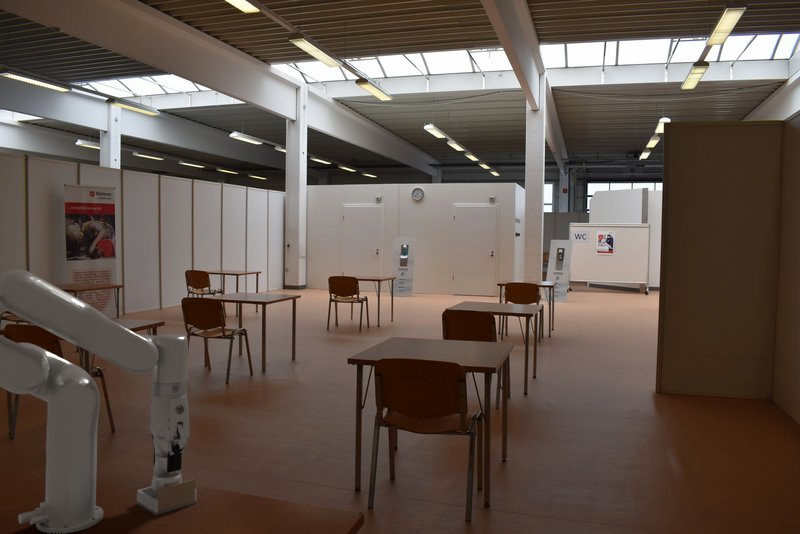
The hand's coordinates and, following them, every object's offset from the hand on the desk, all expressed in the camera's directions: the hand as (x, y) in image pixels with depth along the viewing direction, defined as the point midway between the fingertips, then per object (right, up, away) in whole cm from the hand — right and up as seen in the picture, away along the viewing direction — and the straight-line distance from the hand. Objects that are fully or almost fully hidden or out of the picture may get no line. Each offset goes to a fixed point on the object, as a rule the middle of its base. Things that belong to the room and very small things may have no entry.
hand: (167, 466), depth 142 cm
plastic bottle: (0, -7, 0) cm, 7 cm away
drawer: (0, -8, 0) cm, 8 cm away
